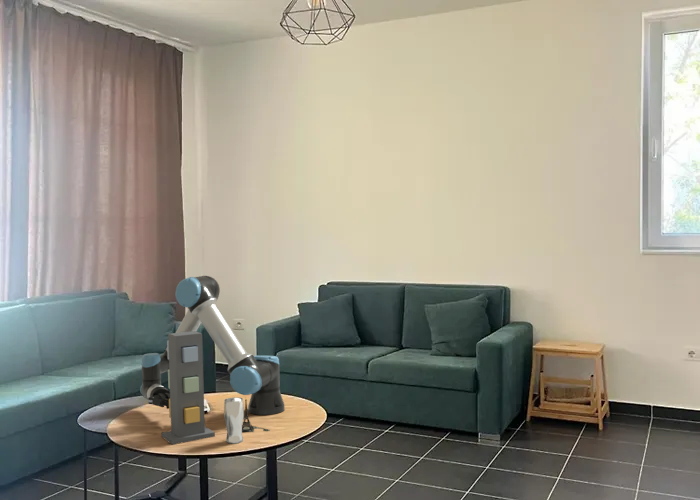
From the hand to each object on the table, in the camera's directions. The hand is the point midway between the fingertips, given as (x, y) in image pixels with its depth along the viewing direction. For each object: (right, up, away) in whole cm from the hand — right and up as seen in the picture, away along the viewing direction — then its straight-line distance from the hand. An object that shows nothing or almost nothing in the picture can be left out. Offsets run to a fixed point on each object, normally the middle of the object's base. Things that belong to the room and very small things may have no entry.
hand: (177, 406), depth 259 cm
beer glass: (+25, -9, -16) cm, 31 cm away
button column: (+6, -9, -9) cm, 14 cm away
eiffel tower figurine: (+28, -9, -3) cm, 29 cm away
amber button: (+5, -3, -7) cm, 10 cm away
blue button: (+5, +19, -8) cm, 21 cm away
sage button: (+5, +8, -8) cm, 12 cm away
